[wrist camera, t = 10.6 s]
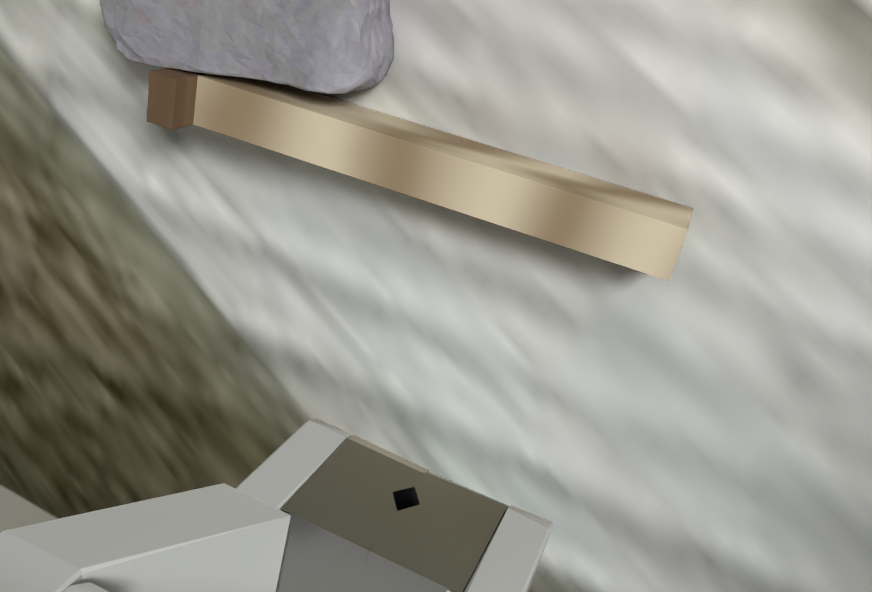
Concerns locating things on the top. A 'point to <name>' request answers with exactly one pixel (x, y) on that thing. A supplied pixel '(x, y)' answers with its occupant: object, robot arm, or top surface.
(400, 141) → the twin tan bars
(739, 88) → the top surface
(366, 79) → the stone block
